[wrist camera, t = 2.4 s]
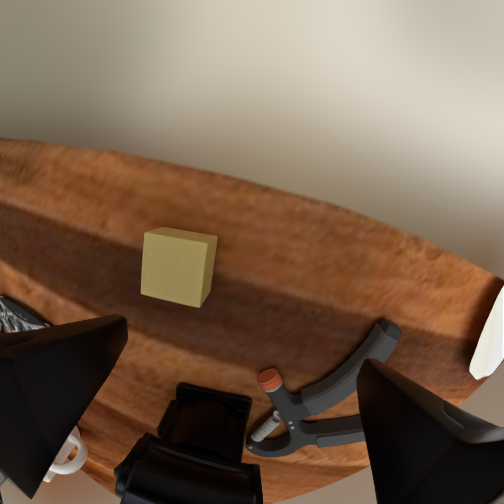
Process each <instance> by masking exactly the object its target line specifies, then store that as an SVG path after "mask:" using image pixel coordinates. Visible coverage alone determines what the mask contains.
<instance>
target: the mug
mask: <svg viewBox="0 0 504 504" xmlns="http://www.w3.org/2000/svg"><path fill="white" fill-rule="evenodd" d="M76 445H77V447H78V453H77V455H76V457H75V458H74V459H73V460H72V461H70V462H68V463H66V464H63V462H64V461H65V460H66V458H67V457H68V455H69V454H70V453H71V451H72V450H73V449H74V447H75V446H76ZM87 455H88V449H87V446H86V444H85V442H84V441H83V440H82V439H81V438H80V432H79V429H78V427H77V426H75V427H74V429H73V430H72V432H71V434H70V435H69V437H68V438H67V440H66V442H65V443H64V445H63V446H62V448H61V450H60V451H59V453H58V455H57V456H56V458H55V460H54V462H53V463H52V465H51V467H50V468H49V470H48V472H47V474H46V475H45V477H44V479H43V480H44V481H46V482H50V481H51V479H52V478H53V477H54V475H55V474H56V473H59V474H70V473H73V472H75V471H77V470H78V469H80V468H81V467H82V466H83V464H84V463H85V461H86V458H87Z"/></svg>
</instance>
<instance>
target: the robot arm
mask: <svg viewBox="0 0 504 504" xmlns="http://www.w3.org/2000/svg"><path fill="white" fill-rule="evenodd" d="M127 340H128V329H127V319H126V317H124V316H121V315H118V314H114V315H109V316H104V317H99V318H94V319H89V320H83V321H78V322H73V323H67V324H62V325H56V326H51V327H45V328H39V329H38V330H37V329H33V330H27V331H20V332H11V333H0V487H1V486H2V485H3V483H4V482H5V481H6V480H8V481H9V482H10V483H11V484H13V485H14V486H15V487H16V488H17V489H19V490H20V491H21V492H22V493H23V494H25V495H26V496H27V497H28V498H30V499H32V498H33V497H34V495H35V493H36V491H37V490H38V488H39V486H40V484H41V482H42V480H43V479H44V477H45V475H46V474H47V472H48V470H49V468H50V467H51V465H52V463H53V462H54V460H55V458H56V456H57V455H58V453H59V451H60V450H61V448H62V446H63V445H64V443H65V442H66V440H67V438H68V437H69V435H70V434H71V432H72V430H73V429H74V427H75V426H76V424H77V422H78V421H79V419H80V418H81V416H82V415H83V413H84V412H85V410H86V409H87V407H88V406H89V404H90V403H91V401H92V400H93V398H94V397H95V395H96V394H97V392H98V391H99V389H100V388H101V386H102V385H103V383H104V382H105V380H106V379H107V377H108V376H109V374H110V373H111V371H112V369H113V368H114V366H115V364H116V362H117V360H118V358H119V356H120V354H121V352H122V351H123V349H124V347H125V345H126V343H127ZM356 386H357V394H358V402H359V411H360V418H361V422H362V427H363V431H364V436H365V440H366V445H367V450H368V455H369V460H370V465H371V470H372V475H373V481H374V486H375V492H376V499H377V504H504V427H499V426H496V425H494V424H492V423H489V422H487V421H485V420H483V419H481V418H478V417H476V416H474V415H472V414H470V413H468V412H466V411H464V410H462V409H460V408H458V407H456V406H455V405H453V404H451V403H449V402H448V401H446V400H443V399H442V398H441V397H439V396H437V395H436V394H434V393H432V392H431V391H429V390H427V389H425V388H424V387H422V386H420V385H419V384H417V383H415V382H414V381H412V380H410V379H409V378H407V377H405V376H404V375H402V374H400V373H399V372H397V371H396V370H394V369H392V368H391V367H389V366H387V365H386V364H384V363H383V362H381V361H379V360H378V359H376V358H366V359H364V361H363V363H362V365H361V368H360V370H359V373H358V375H357V378H356ZM181 388H183V389H181ZM245 402H248V403H245ZM251 406H252V400H251V398H249V397H244V396H239V395H233V394H228V393H223V392H218V391H213V390H209V389H205V388H200V387H196V386H192V385H188V384H184V383H179V384H178V386H177V388H176V400H171V401H170V403H169V405H168V407H167V409H166V411H165V413H164V415H163V417H162V419H161V421H160V423H159V425H158V427H157V437H155V436H153V434H150V433H148V432H146V433H145V434H144V436H143V437H142V438H140V439H139V440H138V441H137V443H136V444H135V446H134V447H133V448H132V450H131V451H130V453H129V454H128V455H127V457H126V458H125V460H124V461H122V462H121V463H120V464H119V465H118V466H117V467H116V468H115V469H114V472H113V474H114V476H115V478H116V489H115V493H116V496H118V497H120V498H122V499H121V502H120V504H263V494H262V485H261V475H260V466H259V465H258V464H247V463H242V462H241V461H242V454H243V446H244V439H245V431H246V425H247V421H248V417H249V413H250V409H251ZM0 504H3V501H2V497H1V492H0Z"/></svg>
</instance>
